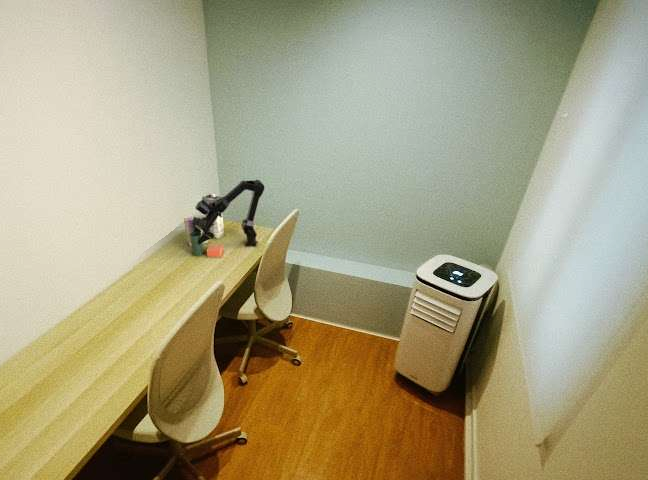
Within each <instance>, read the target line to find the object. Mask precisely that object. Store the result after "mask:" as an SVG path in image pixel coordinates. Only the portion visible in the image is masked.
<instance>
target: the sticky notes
mask: <svg viewBox="0 0 648 480" xmlns="http://www.w3.org/2000/svg"><path fill="white" fill-rule="evenodd" d="M223 252H224V245H223V244H209V245H208V246H207V249H206V256H207V258H221V257H222V256H223Z"/></svg>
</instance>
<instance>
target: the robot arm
mask: <svg viewBox="0 0 648 480" xmlns="http://www.w3.org/2000/svg"><path fill="white" fill-rule="evenodd" d="M245 190H246V191H251V198H250V202H249V207H248V211H247V214H246V217H245V219H242V223H241V225H240V226H241V229H242V232H243V233H244V234H245V235H246V243H245V247H257V244H258V241H257V235H258V234H257V231H256V230H255V228H254V220H255V216H256V212H257V208H258V204H259V201H260V198H261V197H262V195H263V194H264V191H265V185H264V183H263V182H262V181H261V180H260V179H255V180H242V181H240V182H239V183H238V184H237V185H236V186H235V187H234V188H233V189H232V190H230V191H229V192H228V193H227V194H226V195H224V196H222V197H221V198H220V199H218V200H216V201H215V202H213V203H209V204H208V203H207V202H205V200H203V199H202V198H201V200H200V201H198V202H197V203H196V205H195V210H196V211H198V212H199V213H200V214H201V215H204V214H205V215H206V214H207V215H206V217H205V215H204V217H203V218H202V219H201V218H197V217H193V216H192V217H193V221H192V222H193V224H194V225H193V227H194V230H193V232H201V230H203V233H202V236H201V238H200V240H199V242H198V244H199V245H200V244H201V243H203V242H205V241H207V240H208V241H209V240H213V239H215V238H214V234H213V233H212V232H210V230H209V229H210V228H211V226H212V225H213V226H214V224H213V223H214V222H215V220H216V219H217V217H218V216H220V217H221V218H222V216H223V213H224V212H225V211H226V210H227V209H228V207H229V206H230V204H231V203H232V202H233V201H234V200H235V199H236V198H238V196H240V195H241V194H242V193H243V192H245ZM221 213H222V215H221ZM200 229H201V230H200ZM203 244H204V243H203Z"/></svg>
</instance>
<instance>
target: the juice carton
mask: <svg viewBox="0 0 648 480" xmlns="http://www.w3.org/2000/svg"><path fill="white" fill-rule="evenodd" d="M220 198H222V197H221V196H219V195H217V194H216V193H210V194H207V195H205V196H202V197H201V200H202V199H203V200H205V202H207V203H208V204H209V203H213V202H215V201H216V200H218V199H220ZM203 215H204V217H206V215H207V214H206V215H205V214H203ZM221 215H222V218H221V217H220V216H218V217H217V219H216V220H215V222H214V223H213V224H214V226H213V225H212V226H211V228H210V229H209V230H210V232H212V233H213V234H214V238H213V239H215V240H218V239H220V238H221V237H223V236H225V228H224V227H225V226H224V218H223V217H224V216H223V212H222V213H221Z"/></svg>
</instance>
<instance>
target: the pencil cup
mask: <svg viewBox="0 0 648 480" xmlns="http://www.w3.org/2000/svg"><path fill="white" fill-rule="evenodd" d="M189 235H190V241H191V246H190V247H191V252H192V255H193V256H195V257H201V256H203V255H204V254H205V249H204V243H201V244H200V245H199V244H198V242H199V240H200V238H201V236H202V235H201V233H200V232H192V233H190V234H189Z"/></svg>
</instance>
